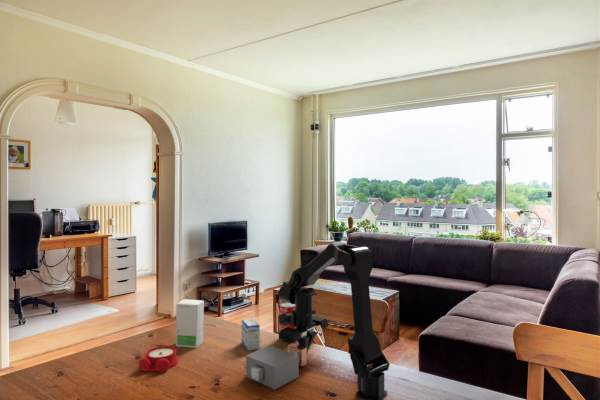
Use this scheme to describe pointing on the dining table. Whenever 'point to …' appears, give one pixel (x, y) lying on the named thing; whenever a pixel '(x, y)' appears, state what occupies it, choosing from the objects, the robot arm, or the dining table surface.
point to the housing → (274, 366)
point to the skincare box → (189, 323)
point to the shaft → (301, 351)
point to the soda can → (286, 309)
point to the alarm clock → (159, 359)
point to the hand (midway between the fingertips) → (304, 354)
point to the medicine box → (250, 334)
